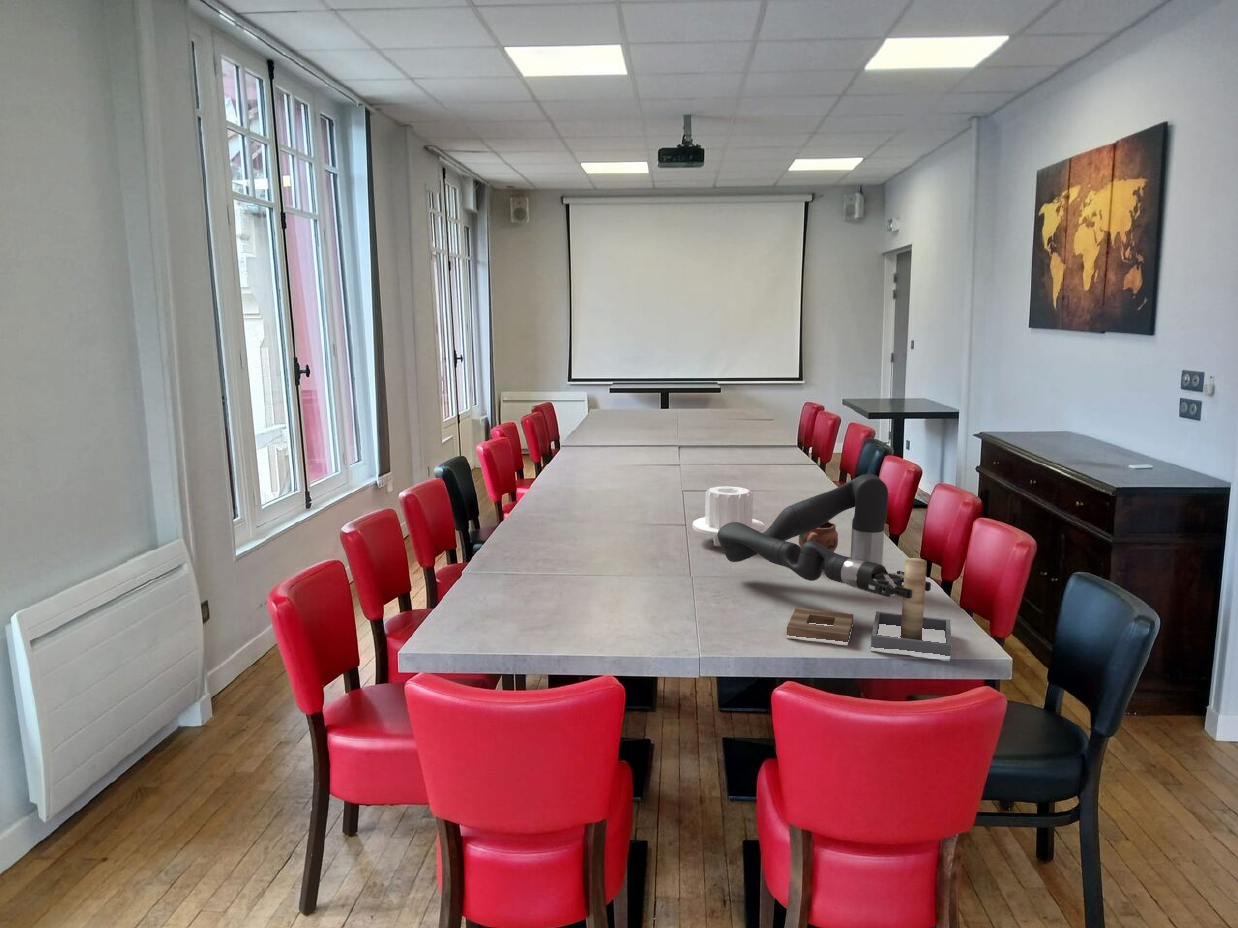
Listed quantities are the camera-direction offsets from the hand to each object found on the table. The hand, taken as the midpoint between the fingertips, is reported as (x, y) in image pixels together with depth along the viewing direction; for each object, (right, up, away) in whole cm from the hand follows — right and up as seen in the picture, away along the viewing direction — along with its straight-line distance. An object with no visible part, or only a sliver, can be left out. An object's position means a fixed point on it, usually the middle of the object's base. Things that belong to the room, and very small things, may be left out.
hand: (920, 590), depth 209 cm
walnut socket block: (-22, -12, +11) cm, 27 cm away
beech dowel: (-1, -12, +4) cm, 13 cm away
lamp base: (-35, +3, +94) cm, 101 cm away
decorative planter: (-10, -2, +68) cm, 68 cm away
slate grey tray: (-1, -13, +4) cm, 14 cm away
